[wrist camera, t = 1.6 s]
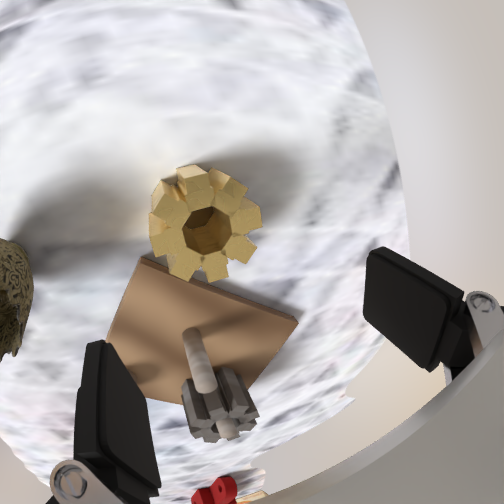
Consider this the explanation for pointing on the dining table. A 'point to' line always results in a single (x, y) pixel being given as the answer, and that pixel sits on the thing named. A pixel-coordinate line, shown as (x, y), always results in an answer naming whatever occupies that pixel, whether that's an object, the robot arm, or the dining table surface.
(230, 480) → the mechanical linkage
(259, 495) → the coffeecake box
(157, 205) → the brass gear
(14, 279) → the cup
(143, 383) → the gear board
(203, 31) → the dining table surface
